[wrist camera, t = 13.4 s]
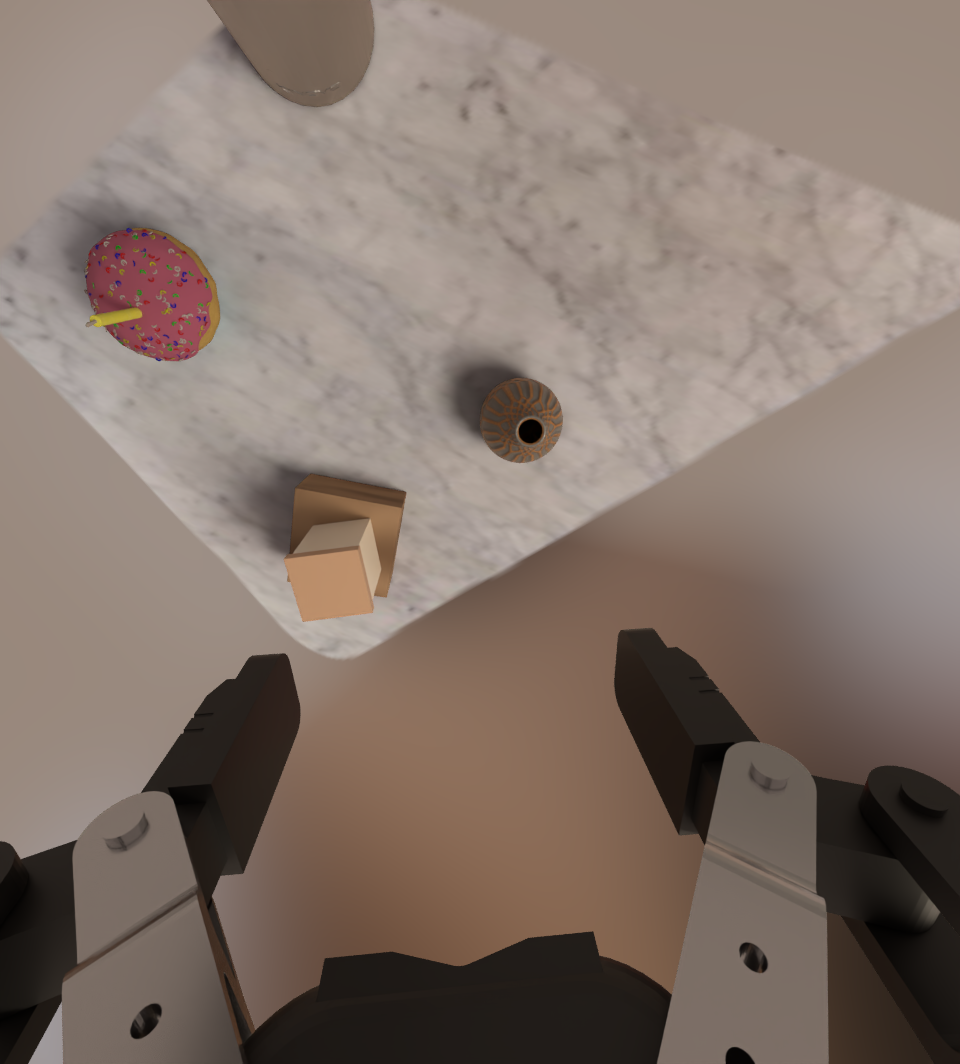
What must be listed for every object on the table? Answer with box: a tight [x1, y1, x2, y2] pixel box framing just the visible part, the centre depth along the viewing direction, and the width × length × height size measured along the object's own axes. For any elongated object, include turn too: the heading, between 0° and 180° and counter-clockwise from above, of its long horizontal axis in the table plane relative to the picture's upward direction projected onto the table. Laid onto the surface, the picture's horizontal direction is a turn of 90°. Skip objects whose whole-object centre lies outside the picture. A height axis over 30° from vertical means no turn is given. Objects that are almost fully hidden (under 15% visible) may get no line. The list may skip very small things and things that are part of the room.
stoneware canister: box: [284, 518, 381, 622], centre depth 38 cm, size 5×5×7 cm
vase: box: [480, 378, 563, 463], centre depth 39 cm, size 7×7×9 cm
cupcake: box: [84, 228, 220, 361], centre depth 32 cm, size 9×8×12 cm
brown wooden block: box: [287, 474, 406, 597], centre depth 44 cm, size 9×9×5 cm
